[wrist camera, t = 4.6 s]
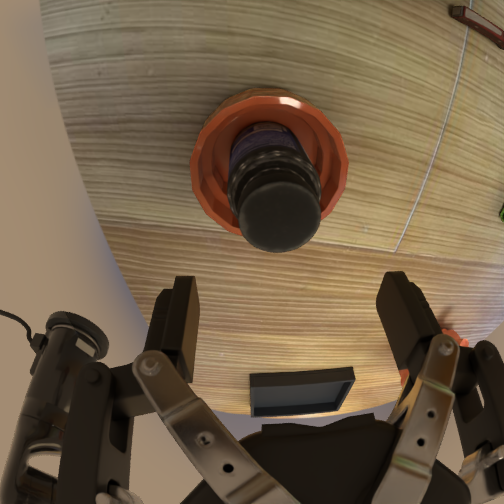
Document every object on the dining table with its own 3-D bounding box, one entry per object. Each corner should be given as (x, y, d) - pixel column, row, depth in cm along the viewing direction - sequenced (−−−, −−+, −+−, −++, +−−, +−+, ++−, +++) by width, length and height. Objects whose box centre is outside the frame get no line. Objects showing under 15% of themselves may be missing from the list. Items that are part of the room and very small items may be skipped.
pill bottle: (216, 162, 26) (202, 232, 17) (257, 105, 23) (266, 145, 14) (274, 196, 28) (288, 277, 20) (315, 146, 25) (355, 208, 17)
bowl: (204, 210, 29) (198, 241, 25) (195, 89, 22) (184, 98, 18) (324, 209, 30) (336, 239, 26) (336, 91, 23) (355, 101, 19)
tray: (250, 406, 56) (250, 417, 53) (250, 373, 48) (250, 387, 45) (336, 399, 56) (338, 411, 54) (352, 366, 48) (355, 379, 46)
